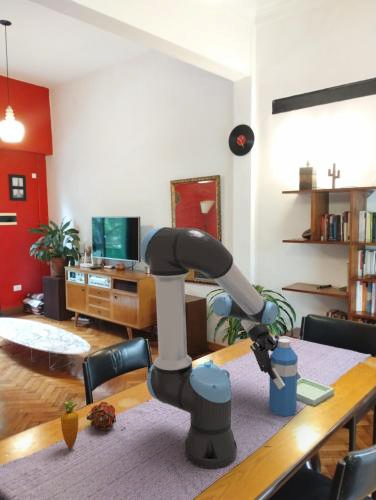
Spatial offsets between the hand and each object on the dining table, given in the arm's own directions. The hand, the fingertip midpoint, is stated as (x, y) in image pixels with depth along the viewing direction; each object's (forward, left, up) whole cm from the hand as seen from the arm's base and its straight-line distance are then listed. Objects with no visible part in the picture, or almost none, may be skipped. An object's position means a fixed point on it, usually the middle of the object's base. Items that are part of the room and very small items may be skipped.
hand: (290, 383), depth 135 cm
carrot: (-66, +30, -11) cm, 73 cm away
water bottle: (0, +3, -11) cm, 11 cm away
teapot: (-10, +31, -11) cm, 35 cm away
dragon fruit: (-53, +35, -11) cm, 65 cm away
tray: (+17, +4, -11) cm, 21 cm away
